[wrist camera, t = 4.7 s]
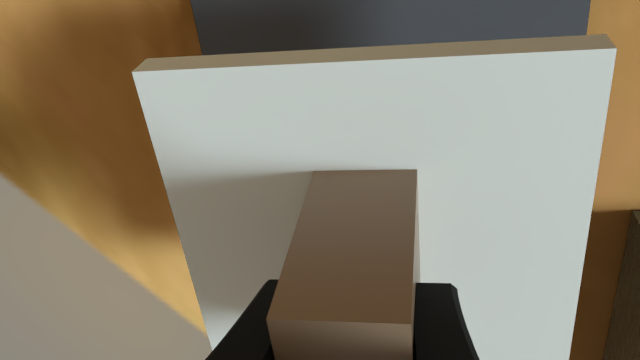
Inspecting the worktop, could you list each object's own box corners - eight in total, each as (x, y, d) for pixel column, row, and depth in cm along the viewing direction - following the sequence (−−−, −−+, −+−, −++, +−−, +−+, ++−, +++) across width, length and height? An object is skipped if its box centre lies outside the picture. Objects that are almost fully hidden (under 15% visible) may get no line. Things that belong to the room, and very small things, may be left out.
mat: (554, 261, 19) (556, 270, 19) (252, 257, 21) (249, 264, 21) (595, -75, 14) (599, -71, 13) (187, -40, 16) (182, -36, 15)
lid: (553, 352, 15) (604, 584, 11) (233, 339, 17) (162, 535, 12) (598, 22, 11) (716, 181, 6) (158, 48, 12) (3, 188, 8)
